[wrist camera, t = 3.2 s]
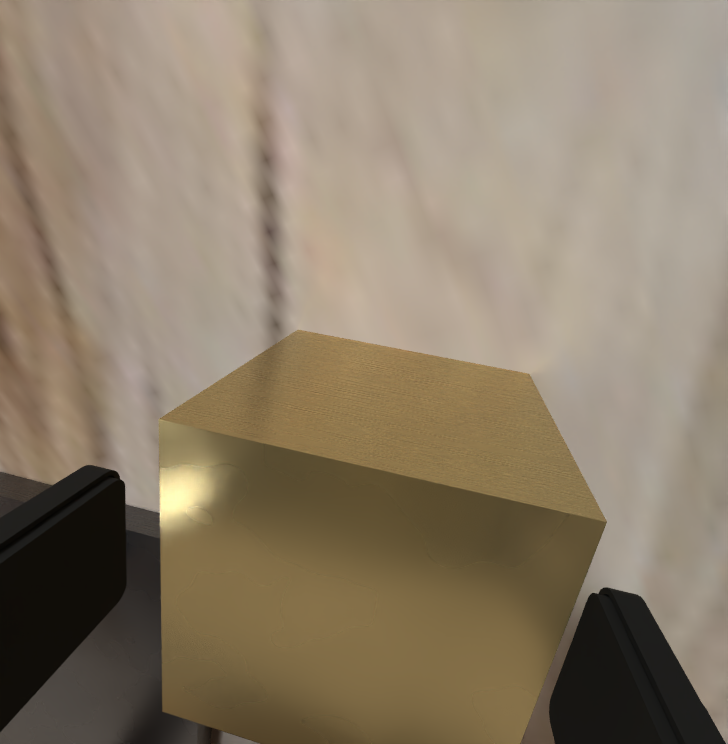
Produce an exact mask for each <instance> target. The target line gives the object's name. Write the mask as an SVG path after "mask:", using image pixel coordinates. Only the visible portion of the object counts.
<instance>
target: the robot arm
mask: <svg viewBox="0 0 728 744" xmlns="http://www.w3.org/2000/svg"><path fill="white" fill-rule="evenodd" d="M126 584H127V569H126V510H125V483H124V482H123V481H122V480H120V476H119V474H118V472H116V471H114V470H109V469H105V468H101V467H97V466H93V465H86V466H84V467H82V468H80V469H79V470H77V471H75V472H74V473H72V474H70V475H69V476H67V477H66V478H64V479H62V480H61V481H59V482H57V483H56V484H54V485H53V486H51V487H49V488H48V489H46V490H44V491H43V492H41V493H40V494H38V495H36V496H35V497H33V498H31V499H30V500H28V501H27V502H25V503H23V504H22V505H20V506H19V507H17V508H15V509H14V510H12V511H10V512H9V513H7V514H6V515H4V516H2V517H1V518H0V732H1V731H2V730H3V729H4V728H5V727H6V726H7V724H8V723H9V722H10V721H11V720H12V719H13V718H14V717H15V716H16V715H17V713H18V712H19V711H20V710H21V709H22V708H23V707H24V706H25V705H26V704H27V702H28V701H29V700H30V699H31V698H32V697H33V696H34V695H35V694H36V693H37V691H38V690H39V689H40V688H41V687H42V686H43V685H44V684H45V683H46V682H47V680H48V679H49V678H50V677H51V676H52V675H53V674H54V673H55V672H56V671H57V669H58V668H59V667H60V666H61V665H62V664H63V663H64V662H65V661H66V660H67V658H68V657H69V656H70V655H71V654H72V653H73V652H74V651H75V650H76V649H77V647H78V646H79V645H80V644H81V643H82V642H83V641H84V640H85V639H86V638H87V636H88V635H89V634H90V633H91V632H92V631H93V630H94V629H95V628H96V627H97V625H98V624H99V623H100V622H101V621H102V620H103V619H104V618H105V617H106V616H107V614H108V613H109V612H110V611H111V610H112V609H113V608H114V607H115V606H116V605H117V603H118V602H119V601H120V599H121V598H122V596H123V594H124V592H125V589H126ZM549 715H550V723H551V728H552V732H553V736H554V741H555V744H726V743H725V741H724V740H723V738H722V736H721V734H720V733H719V731H718V729H717V727H716V726H715V724H714V722H713V720H712V719H711V717H710V715H709V713H708V711H707V710H706V708H705V707H704V705H703V704H702V702H701V701H700V699H699V697H698V695H697V694H696V692H695V690H694V688H693V686H692V685H691V683H690V681H689V679H688V678H687V676H686V674H685V672H684V671H683V669H682V667H681V665H680V663H679V662H678V660H677V658H676V656H675V655H674V653H673V651H672V649H671V647H670V646H669V644H668V642H667V640H666V639H665V637H664V635H663V633H662V632H661V630H660V628H659V626H658V624H657V623H656V621H655V619H654V617H653V616H652V614H651V612H650V610H649V608H648V607H647V605H646V603H645V601H644V600H643V599H642V598H641V597H640V596H638V595H636V594H632V593H628V592H623V591H619V590H615V589H611V588H603V589H601V590H600V592H599V594H596V593H592V594H591V595H590V596H589V598H588V600H587V602H586V605H585V608H584V610H583V613H582V616H581V618H580V621H579V624H578V626H577V629H576V632H575V634H574V637H573V640H572V642H571V645H570V648H569V651H568V653H567V656H566V659H565V661H564V664H563V667H562V669H561V672H560V675H559V677H558V680H557V683H556V685H555V688H554V691H553V693H552V696H551V700H550V706H549Z"/></svg>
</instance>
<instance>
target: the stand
mask: <svg viewBox="0 0 728 744" xmlns="http://www.w3.org/2000/svg"><path fill="white" fill-rule="evenodd" d="M51 486H52V485H48V484H44V483H40V482H37V481H33V480H29V479H25V478H21V477H17V476H14V475H10V474H6V473H2V472H0V518H1V517H2V516H4V515H6V514H7V513H9V512H10V511H12V510H14V509H15V508H17V507H19V506H20V505H22V504H23V503H25V502H27V501H28V500H30V499H31V498H33V497H35V496H36V495H38V494H40V493H41V492H43V491H44V490H46V489H48V488H49V487H51ZM125 510H126V569H127V584H126V589H125V592H124V594H123V596H122V598H121V599H120V601H119V602H118V603H117V605H116V606H115V607H114V608H113V609H112V610H111V611H110V612H109V613H108V614H107V616H106V617H105V618H104V619H103V620H102V621H101V622H100V623H99V624H98V625H97V627H96V628H95V629H94V630H93V631H92V632H91V633H90V634H89V635H88V636H87V638H86V639H85V640H84V641H83V642H82V643H81V644H80V645H79V646H78V647H77V649H76V650H75V651H74V652H73V653H72V654H71V655H70V656H69V657H68V658H67V660H66V661H65V662H64V663H63V664H62V665H61V666H60V667H59V668H58V669H57V671H56V672H55V673H54V674H53V675H52V676H51V677H50V678H49V679H48V680H47V682H46V683H45V684H44V685H43V686H42V687H41V688H40V689H39V690H38V691H37V693H36V694H35V695H34V696H33V697H32V698H31V699H30V700H29V701H28V702H27V704H26V705H25V706H24V707H23V708H22V709H21V710H20V711H19V712H18V713H17V715H16V716H15V717H14V718H13V719H12V720H11V721H10V722H9V723H8V724H7V726H6V727H5V728H4V729H3V730H2V731H1V732H0V744H210V733H211V727H208V726H205V725H202V724H199V723H196V722H193V721H190V720H187V719H184V718H181V717H178V716H175V715H172V714H169V713H165V712H162V639H161V560H160V513H156V512H152V511H148V510H144V509H140V508H137V507H133V506H129V505H125Z"/></svg>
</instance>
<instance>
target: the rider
mask: <svg viewBox="0 0 728 744" xmlns="http://www.w3.org/2000/svg"><path fill="white" fill-rule="evenodd" d="M159 480H160V560H161V639H162V712H165V713H169V714H172V715H175V716H178V717H181V718H184V719H187V720H190V721H193V722H196V723H199V724H202V725H205V726H208V727H211V728H215V729H218V730H221V731H224V732H227V733H230V734H233V735H236V736H239V737H242V738H245V739H248V740H251V741H254V742H257V743H261V744H520V743H521V740H522V738H523V735H524V733H525V730H526V728H527V725H528V722H529V720H530V717H531V715H532V712H533V710H534V707H535V705H536V702H537V699H538V697H539V694H540V692H541V689H542V687H543V684H544V681H545V679H546V676H547V674H548V671H549V669H550V666H551V664H552V661H553V658H554V656H555V653H556V651H557V648H558V646H559V643H560V641H561V638H562V635H563V633H564V630H565V628H566V625H567V623H568V620H569V618H570V615H571V612H572V610H573V607H574V605H575V602H576V600H577V597H578V595H579V592H580V589H581V587H582V584H583V582H584V579H585V577H586V574H587V572H588V569H589V566H590V564H591V561H592V559H593V556H594V554H595V551H596V549H597V546H598V543H599V541H600V538H601V536H602V533H603V531H604V528H605V526H606V523H607V521H606V519H605V518H604V516H603V514H602V512H601V510H600V508H599V506H598V504H597V502H596V500H595V498H594V497H593V495H592V493H591V491H590V489H589V487H588V485H587V483H586V481H585V479H584V477H583V476H582V474H581V472H580V470H579V468H578V466H577V464H576V462H575V460H574V458H573V456H572V455H571V453H570V451H569V449H568V447H567V445H566V443H565V441H564V439H563V437H562V435H561V434H560V432H559V430H558V428H557V426H556V424H555V422H554V420H553V418H552V416H551V414H550V413H549V411H548V409H547V407H546V405H545V403H544V401H543V399H542V397H541V395H540V393H539V392H538V390H537V388H536V386H535V384H534V382H533V380H532V378H531V376H530V374H527V373H522V372H517V371H511V370H506V369H501V368H496V367H491V366H485V365H480V364H475V363H470V362H464V361H459V360H454V359H449V358H443V357H438V356H433V355H428V354H423V353H417V352H412V351H407V350H402V349H396V348H391V347H386V346H381V345H375V344H370V343H365V342H360V341H354V340H349V339H344V338H339V337H334V336H328V335H323V334H318V333H313V332H307V331H302V330H297V331H295V332H294V333H292V334H290V335H289V336H287V337H286V338H284V339H283V340H281V341H280V342H278V343H276V344H275V345H273V346H272V347H270V348H269V349H267V350H266V351H264V352H263V353H261V354H259V355H258V356H256V357H255V358H253V359H252V360H250V361H249V362H247V363H245V364H244V365H242V366H241V367H239V368H238V369H236V370H235V371H233V372H231V373H230V374H228V375H227V376H225V377H224V378H222V379H221V380H219V381H217V382H216V383H214V384H213V385H211V386H210V387H208V388H207V389H205V390H203V391H202V392H200V393H199V394H197V395H196V396H194V397H193V398H191V399H190V400H188V401H186V402H185V403H183V404H182V405H180V406H179V407H177V408H176V409H174V410H172V411H171V412H169V413H168V414H166V415H165V416H163V417H162V418H160V419H159Z"/></svg>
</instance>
